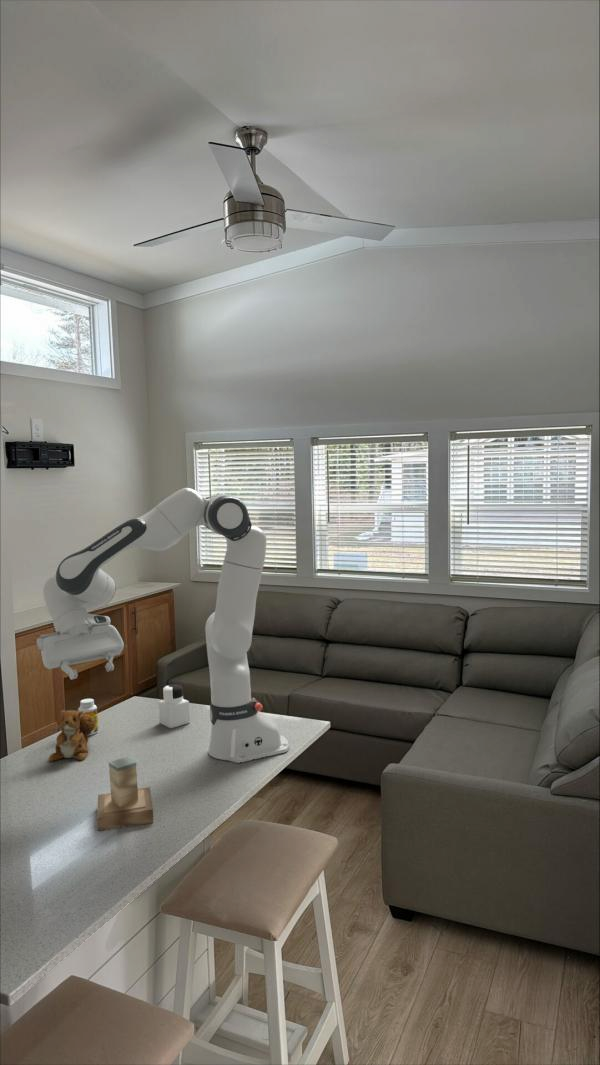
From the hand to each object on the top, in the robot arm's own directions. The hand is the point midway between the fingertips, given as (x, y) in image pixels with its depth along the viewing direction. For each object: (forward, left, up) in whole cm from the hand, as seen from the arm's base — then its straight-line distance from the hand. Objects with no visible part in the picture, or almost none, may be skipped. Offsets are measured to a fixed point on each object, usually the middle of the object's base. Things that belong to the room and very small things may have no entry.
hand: (93, 673), depth 175 cm
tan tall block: (-6, +16, -26) cm, 31 cm away
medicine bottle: (-22, -42, -30) cm, 55 cm away
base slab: (-6, +16, -29) cm, 34 cm away
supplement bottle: (+4, -43, -30) cm, 52 cm away
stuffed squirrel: (+8, -27, -30) cm, 41 cm away
